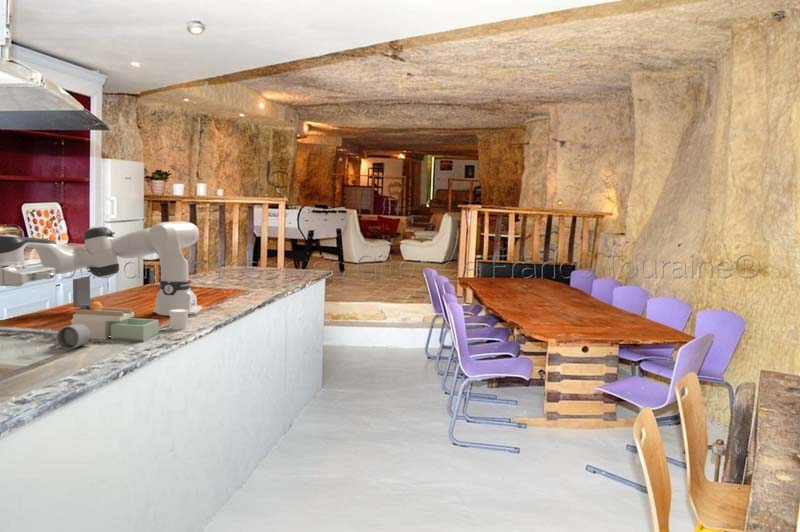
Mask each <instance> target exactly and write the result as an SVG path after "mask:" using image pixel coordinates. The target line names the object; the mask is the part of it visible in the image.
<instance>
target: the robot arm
mask: <svg viewBox="0 0 800 532" xmlns="http://www.w3.org/2000/svg"><path fill="white" fill-rule="evenodd" d="M115 234H116V232H115V231H112V230H111V229H110V228H107V227H105V226H100V225H97V226H96V225H95V226H92V227H90V228H88V229H86V230H85V231H84V232H83V240H84V245H85V248H84V247H83V246H79V245H62V246H60V245H59V244H57V242H56V241H55V240H53V239H46V238H37V237H27V236H19V235H17V234H16V235H15V234H8V233H5V234H0V287H16V288H18V287H22V286H23V285H24V284H27V283H30V282H36V281H41V280H49V279H54V278H55V277H56V275H63V274H69V273H73V272H75V271H78V270H81V269H84V268H88V270H87V273H91V275H92V276H95V277H97V278H103V279H107V278H111V277H113V276H115V275H116V274H117V273H119V272H120V264H119V262H118V261H119V260H118V257H119V258H122V259H134V258H136V259H137V258H140V257H144V256H149V255H152V254H157V255H158V258H159V262H160V280H159V289H160V290H159V291H158V292H157V293H156V299H155V300H156V301H155V308H154V309H152V312H153V313H156V315H160V316H169V317H170V313H169V310H173V309H186V310H188V315H197V314H198V313H199V312H200V311H201V310H202V309H203V306H202V305H198V303H197V302H198V301H197V298H198V297H197V295H196V294H195V293H194V291H192V289H191V285H192V283H193V280H192V279H189V262H188V259H186V258H185V257H184V255H183V251H182V249H183V248H187V247H190V246H192V245H194V244H196V243H197V242H198V240H199V239H200V230H199V228H198V226H197V225H195V224H194V223H192V222H189V221H185V220H184V221H181V220H180V221H163V222H162V221H161V222H160V223H156V224H154V225H152V226H151V227H147V228H143V229H139V230H135V231H132V232H129V233H126V234H123V235H121V236H114V235H115ZM25 248H30V249H35V251H36V252H37V254H38V257H39V259H40V262H41V265H42V266H36V267H34V266H33V267H28V266H27V265H26V264H25Z"/></svg>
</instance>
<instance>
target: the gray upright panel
mask: <svg viewBox="0 0 800 532" xmlns="http://www.w3.org/2000/svg"><path fill="white" fill-rule="evenodd" d="M72 304H73V305H72V306H73V308H79V307H80V309H85V310H90V305H91V304H92V303H91V277H90V276H82V277H77V278H73V279H72Z"/></svg>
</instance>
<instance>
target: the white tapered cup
mask: <svg viewBox="0 0 800 532" xmlns="http://www.w3.org/2000/svg"><path fill="white" fill-rule="evenodd" d="M169 313H170V316H169V319H170V320H169V321H170V329H171V330H174V331H183V330H186V329H187V326H188V310H186V309H173V310H169Z"/></svg>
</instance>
